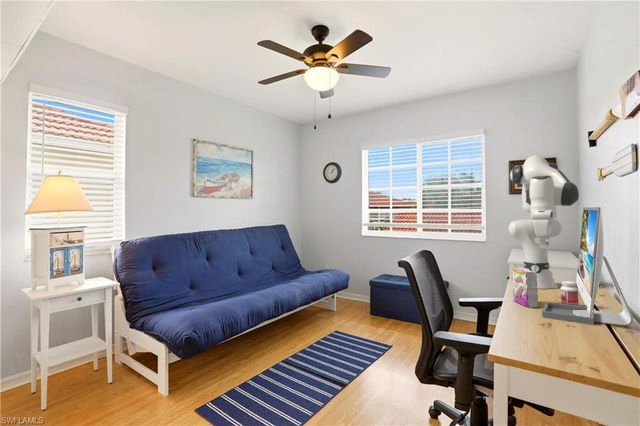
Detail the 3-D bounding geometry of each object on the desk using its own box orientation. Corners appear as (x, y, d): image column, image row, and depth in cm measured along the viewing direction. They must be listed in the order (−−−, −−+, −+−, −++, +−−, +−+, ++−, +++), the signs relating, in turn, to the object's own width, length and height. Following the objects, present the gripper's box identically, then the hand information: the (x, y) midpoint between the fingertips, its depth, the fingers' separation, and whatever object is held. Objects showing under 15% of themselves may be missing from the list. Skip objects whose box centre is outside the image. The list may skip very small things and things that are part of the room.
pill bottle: (581, 306, 137) (579, 282, 137) (576, 309, 134) (574, 284, 134) (564, 303, 142) (562, 280, 142) (559, 306, 139) (557, 282, 139)
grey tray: (546, 307, 138) (546, 302, 138) (593, 313, 127) (593, 307, 127) (542, 317, 126) (542, 311, 126) (594, 325, 116) (593, 318, 116)
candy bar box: (512, 301, 149) (511, 268, 149) (523, 301, 149) (521, 267, 149) (528, 308, 138) (526, 272, 138) (539, 307, 138) (537, 271, 138)
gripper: (537, 213, 137) (539, 244, 137) (530, 214, 122) (532, 249, 122) (554, 213, 133) (556, 244, 133) (550, 214, 118) (552, 249, 118)
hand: (545, 246), depth 127 cm, fingers open, 8 cm apart
